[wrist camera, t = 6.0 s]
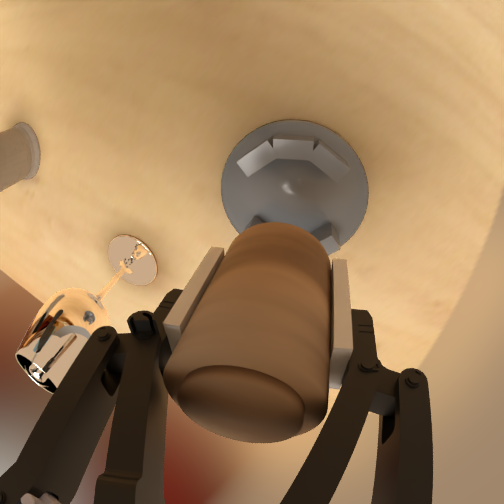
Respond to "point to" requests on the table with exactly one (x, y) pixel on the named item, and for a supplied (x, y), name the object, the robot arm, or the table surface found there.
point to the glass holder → (18, 155)
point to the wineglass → (78, 316)
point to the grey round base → (296, 182)
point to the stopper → (259, 339)
